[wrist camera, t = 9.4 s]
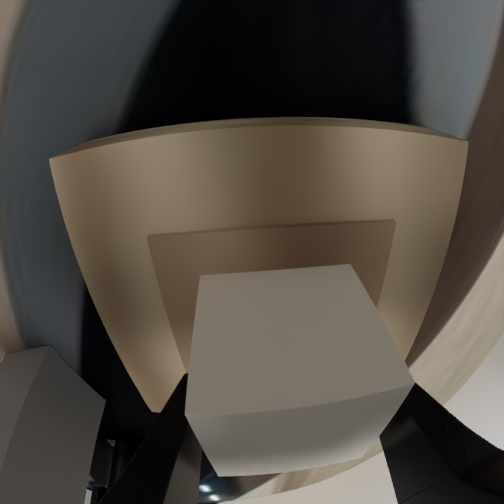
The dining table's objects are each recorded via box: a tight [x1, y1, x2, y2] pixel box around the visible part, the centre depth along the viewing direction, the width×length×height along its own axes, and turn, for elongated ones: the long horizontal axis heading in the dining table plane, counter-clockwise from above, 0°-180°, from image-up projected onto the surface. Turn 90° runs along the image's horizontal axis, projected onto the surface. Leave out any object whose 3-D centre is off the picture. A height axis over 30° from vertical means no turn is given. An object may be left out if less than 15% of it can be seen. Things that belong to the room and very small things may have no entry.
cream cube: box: [185, 264, 415, 476], centre depth 9 cm, size 5×5×5 cm
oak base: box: [49, 117, 468, 412], centre depth 12 cm, size 14×14×3 cm
